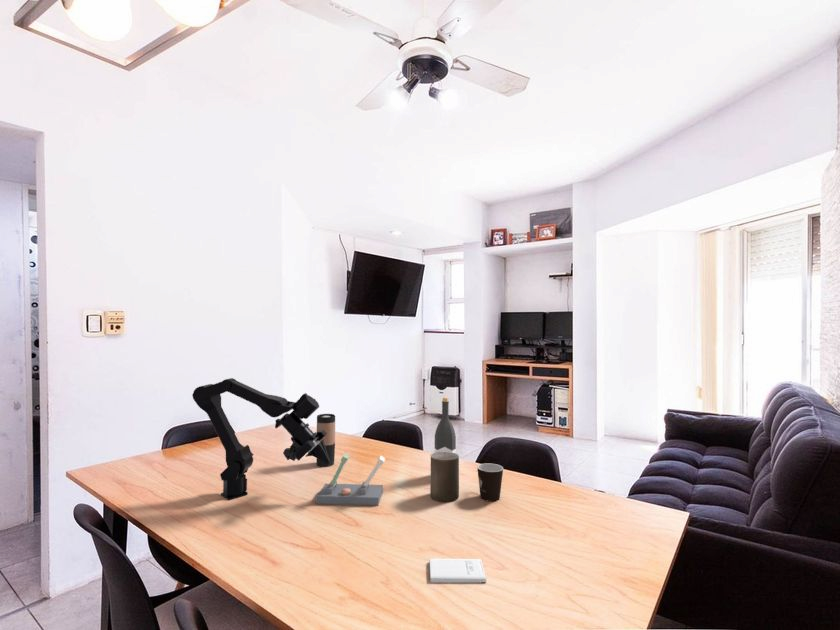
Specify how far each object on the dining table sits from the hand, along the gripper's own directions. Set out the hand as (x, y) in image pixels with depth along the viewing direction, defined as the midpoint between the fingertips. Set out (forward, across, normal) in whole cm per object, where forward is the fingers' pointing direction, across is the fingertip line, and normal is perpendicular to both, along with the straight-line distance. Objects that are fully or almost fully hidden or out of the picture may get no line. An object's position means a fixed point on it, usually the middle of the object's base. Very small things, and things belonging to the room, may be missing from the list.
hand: (328, 462), depth 141 cm
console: (+14, 0, -2) cm, 14 cm away
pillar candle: (+35, -3, +20) cm, 41 cm away
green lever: (+6, 0, -4) cm, 8 cm away
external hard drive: (+37, +41, +21) cm, 59 cm away
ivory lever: (+14, 0, +3) cm, 14 cm away
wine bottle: (+36, -22, +20) cm, 47 cm away
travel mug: (+1, -34, -15) cm, 37 cm away
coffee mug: (+46, -5, +31) cm, 56 cm away
